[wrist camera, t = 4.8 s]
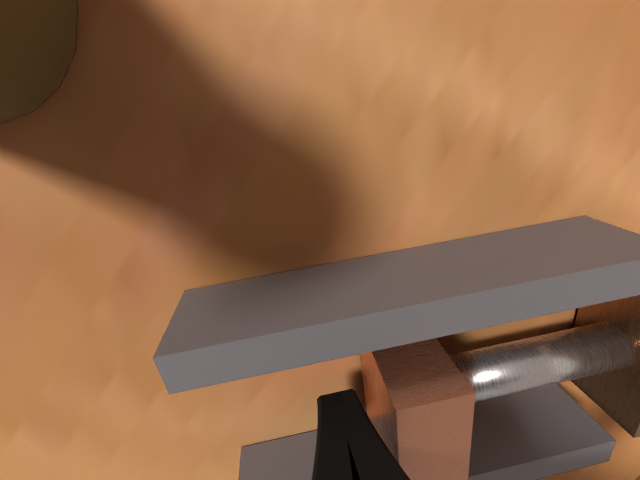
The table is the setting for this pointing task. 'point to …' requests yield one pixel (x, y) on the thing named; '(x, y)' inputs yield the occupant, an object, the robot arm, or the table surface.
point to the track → (413, 333)
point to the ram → (497, 384)
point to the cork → (34, 52)
